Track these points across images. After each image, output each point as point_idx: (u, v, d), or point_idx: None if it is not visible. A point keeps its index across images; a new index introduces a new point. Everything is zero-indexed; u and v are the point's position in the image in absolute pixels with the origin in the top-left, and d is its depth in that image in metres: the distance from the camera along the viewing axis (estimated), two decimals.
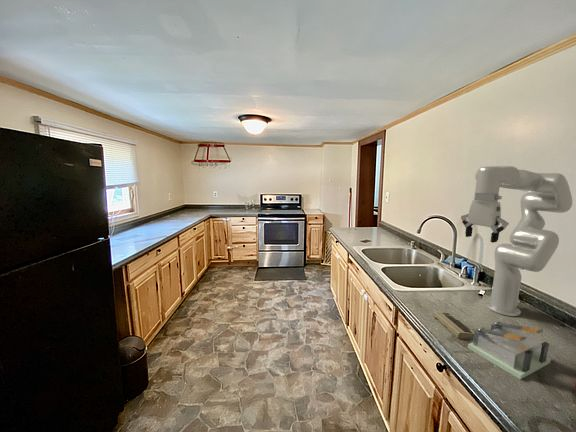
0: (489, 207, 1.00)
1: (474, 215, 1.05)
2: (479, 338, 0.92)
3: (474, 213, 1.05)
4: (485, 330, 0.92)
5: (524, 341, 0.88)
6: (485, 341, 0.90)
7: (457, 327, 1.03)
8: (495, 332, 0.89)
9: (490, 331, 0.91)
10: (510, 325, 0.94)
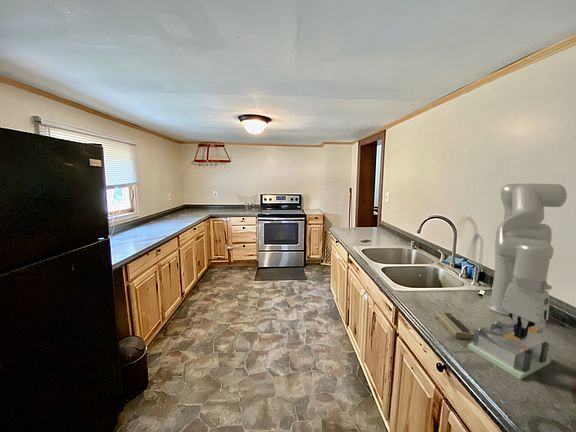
0: (535, 298, 0.77)
1: (512, 303, 0.82)
2: (479, 338, 0.92)
3: (512, 300, 0.82)
4: (485, 330, 0.92)
5: (524, 341, 0.88)
6: (485, 341, 0.90)
7: (456, 327, 1.03)
8: (495, 332, 0.89)
9: (490, 331, 0.91)
10: (510, 325, 0.94)
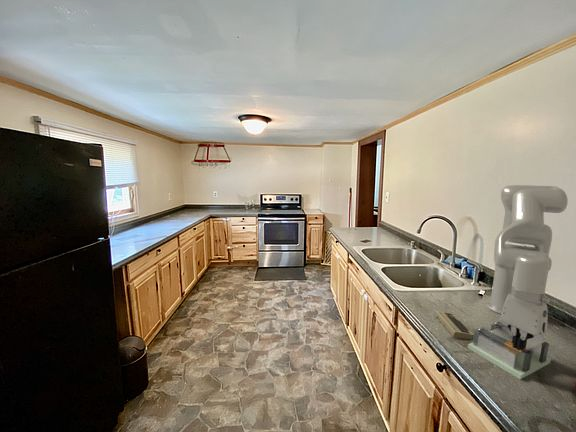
0: (533, 311, 0.77)
1: (511, 314, 0.82)
2: (479, 338, 0.92)
3: (510, 311, 0.83)
4: (485, 331, 0.92)
5: None
6: (485, 341, 0.90)
7: (455, 327, 1.03)
8: (496, 336, 0.89)
9: (491, 334, 0.91)
10: None
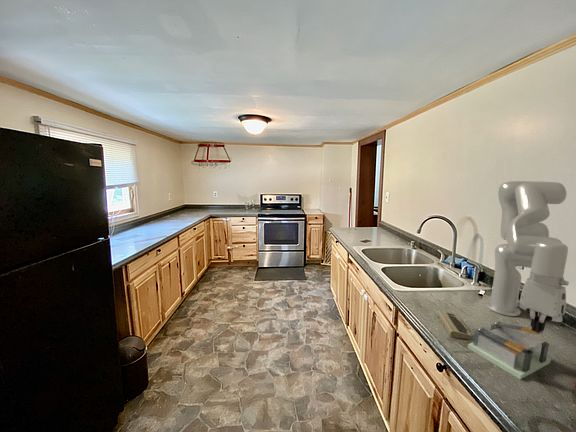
0: (552, 294, 0.81)
1: (530, 298, 0.86)
2: (479, 338, 0.92)
3: (529, 295, 0.86)
4: (485, 331, 0.92)
5: (524, 341, 0.88)
6: (485, 341, 0.90)
7: (453, 326, 1.04)
8: (496, 336, 0.89)
9: (491, 334, 0.91)
10: (510, 325, 0.94)
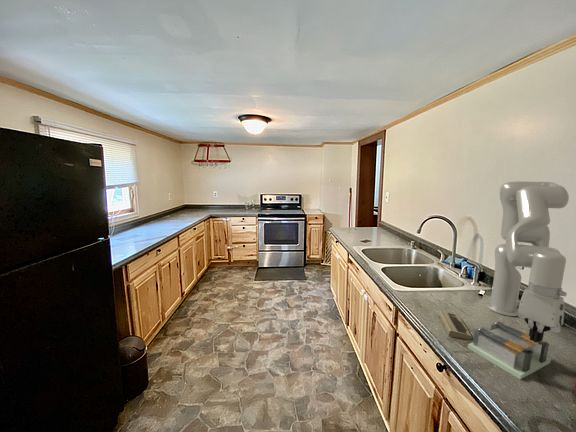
0: (551, 304, 0.81)
1: (528, 308, 0.86)
2: (479, 338, 0.92)
3: (528, 305, 0.87)
4: (485, 331, 0.92)
5: (524, 341, 0.88)
6: (485, 341, 0.90)
7: (452, 326, 1.04)
8: (496, 336, 0.89)
9: (491, 334, 0.91)
10: (511, 329, 0.94)
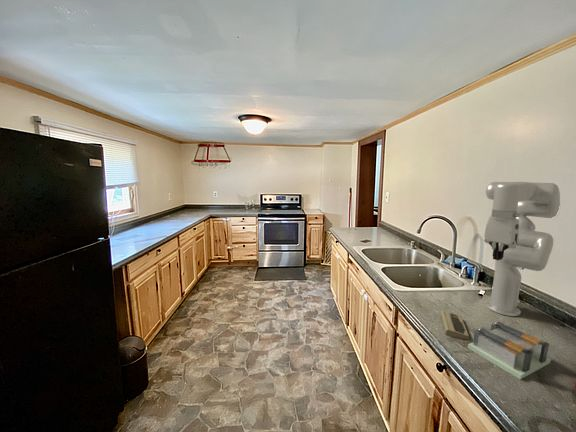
0: (508, 225, 0.98)
1: (491, 232, 1.03)
2: (479, 338, 0.92)
3: (491, 230, 1.04)
4: (485, 331, 0.92)
5: (524, 341, 0.88)
6: (485, 341, 0.90)
7: (451, 326, 1.04)
8: (496, 336, 0.89)
9: (491, 334, 0.91)
10: (511, 329, 0.94)
